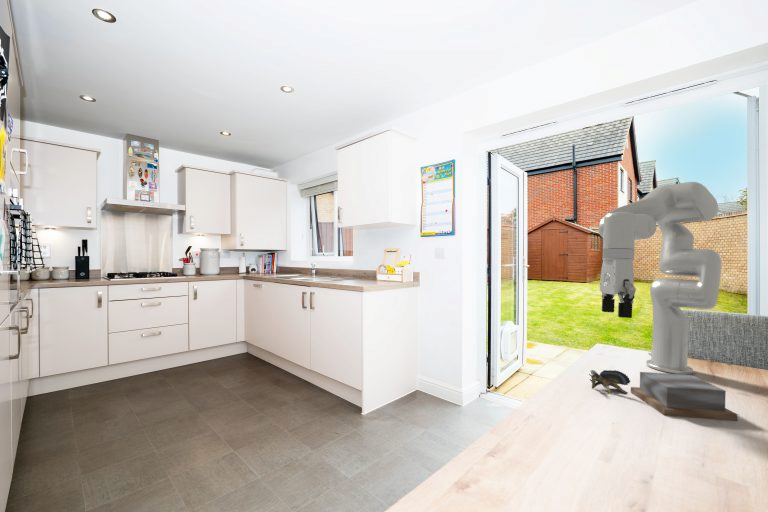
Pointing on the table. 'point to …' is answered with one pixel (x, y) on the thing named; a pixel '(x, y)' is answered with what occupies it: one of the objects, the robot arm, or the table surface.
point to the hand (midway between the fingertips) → (616, 314)
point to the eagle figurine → (609, 379)
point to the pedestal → (683, 396)
